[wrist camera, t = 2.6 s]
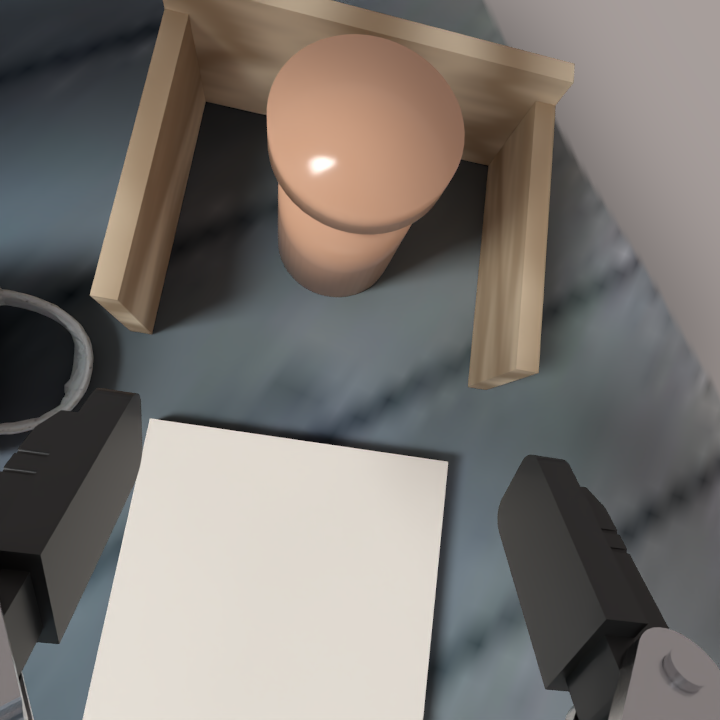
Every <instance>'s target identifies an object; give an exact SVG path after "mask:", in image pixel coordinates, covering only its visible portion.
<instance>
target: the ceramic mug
mask: <svg viewBox="0 0 720 720" xmlns="http://www.w3.org/2000/svg"><path fill="white" fill-rule="evenodd" d="M1 305H9V306H14V307H20V308H24V309H28V310H31V311H34V312H37V313H40V314H42V315H44V316H47V317H49V318H51V319H53V320H55V321H56V322H58V323H59V324H61V325H62V326H64V327H65V328H66V329H67V330H68V332H70V333H71V335H72V338H73V341H74V344H75V349H74V362H73V369H72V374H71V377H70V380H69V381H68V382H67V383H66V384H65V385H64V386H65V396H64V397H63V399H62V401H61V405H59V406H58V407H56V408H55V409H53V410H51V411H49V412H47V413H45V414H44V415H42V416H41V417H39V418H33V419H28V420H23V421H18V422H13V423H2V424H0V435H1V434H16V433H21V432H25V431H29V430H33V429H34V427H35V426H37V425H39V424H40V423H42V422H43V421H45V420H46V419H48V418H49V417H51V416H53V415H54V414H56V413H57V412H59V411H60V410H65V411H71V410H72V409H73V408H74V407H75V406H76V405H77V404H78V402H79V401H80V400H81V398H82V397H83V395H84V394H85V392H86V390H87V388H88V385H89V382H90V378H91V374H92V370H93V350H92V344H91V341H90V338H89V337H88V335H87V334H86V332H85V330H84V329H83V327H82V325H81V324H80V323H79V322H78V321H77V320H75V319H74V318H73V317H72V316H71V315H69V314H68V313H67V312H65V311H64V310H62V309H61V308H59V307H58V306H57V305H54V304H52V303H50V302H47V301H45V300H42V299H40V298H37V297H35V296H31V295H28V294H24V293H20V292H16V291H11V290H3V289H1V288H0V306H1Z"/></svg>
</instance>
